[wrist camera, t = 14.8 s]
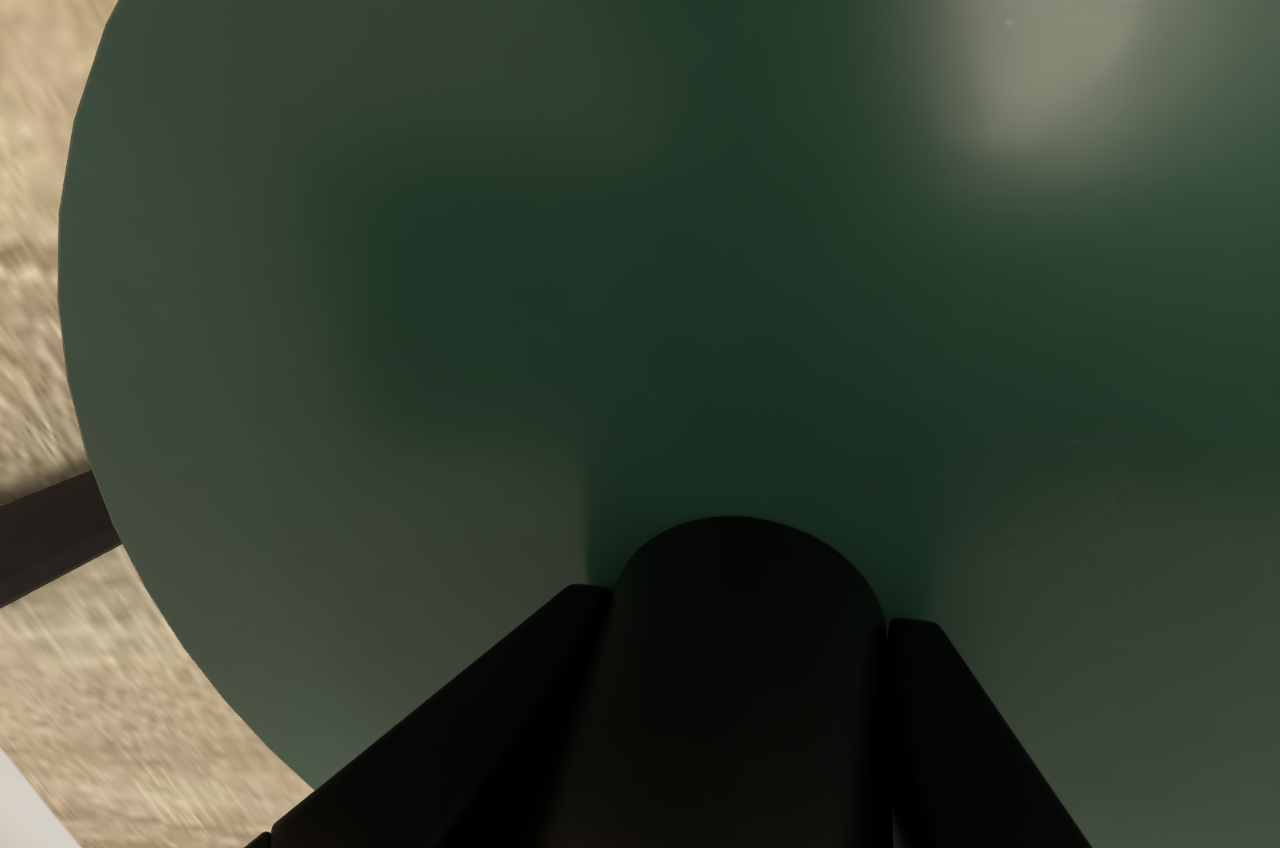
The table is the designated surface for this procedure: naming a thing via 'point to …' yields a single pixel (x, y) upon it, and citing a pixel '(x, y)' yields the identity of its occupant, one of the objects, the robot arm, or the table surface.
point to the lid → (704, 383)
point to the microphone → (52, 535)
